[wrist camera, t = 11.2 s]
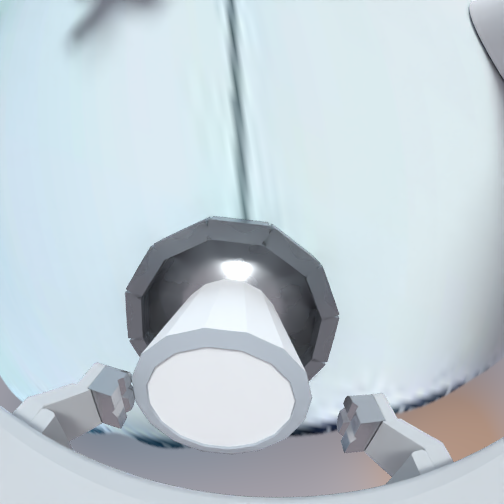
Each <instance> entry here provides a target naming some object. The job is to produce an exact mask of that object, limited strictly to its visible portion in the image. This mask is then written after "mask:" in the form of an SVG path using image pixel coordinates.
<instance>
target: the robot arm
mask: <svg viewBox="0 0 504 504" xmlns="http://www.w3.org/2000/svg"><path fill="white" fill-rule="evenodd" d="M469 10H470V15H471V18H472V21H473V24H474V26H475V28H476V31H477V33H478V35H479V37H480V39H481V41H482V43H483V45H484V46H485V48H486V50H487V52H488V54H489V56H490V57H491V59H492V61H493V63H494V64H495V66H496V68H497V69H498V71H499V73H500V74H501V76H502V77H503V79H504V0H473V1H471V3H470V5H469ZM131 382H132V374H131V373H130V372H127V371H124V370H120V369H117V368H114V367H111V366H107V365H104V364H101V363H98V362H97V363H94V364H93V365H92V367H91V368H90V369H89V370H88V371H87V372H86V373H85V375H84V376H83V377H82V378H81V379H80V380H79V381H78V383H77V384H75V383H72V384H69V385H66V386H63V387H59V388H56V389H53V390H50V391H47V392H43V393H40V394H36V395H33V396H30V397H27V398H26V399H25V400H24V401H23V403H22V404H21V405H20V406H19V407H18V408H17V409H16V410H15V411H14V412H13V413H12V414H11V413H10V412H8V411H7V410H6V409H4V408H3V407H2V406H0V504H504V437H503V438H501V439H499V440H498V441H496V442H494V443H492V444H491V445H489V446H487V447H485V448H483V449H481V450H479V451H477V452H475V453H473V454H471V455H469V456H467V457H465V458H463V459H460V460H458V461H456V462H453V460H452V458H451V456H450V455H449V453H448V451H447V449H446V448H445V446H444V444H443V443H442V442H441V441H439V440H437V439H435V438H433V437H431V436H430V435H428V434H426V433H424V432H423V431H421V430H419V429H417V428H416V427H414V426H412V425H411V424H409V423H407V422H406V421H404V420H402V419H397V417H396V415H395V413H394V411H393V409H392V408H391V406H390V404H389V402H388V400H387V398H386V397H385V395H384V394H383V393H378V394H371V395H356V396H347V397H346V398H345V400H344V403H343V404H344V407H345V408H343V409H342V410H341V411H340V412H339V415H338V419H337V429H338V432H339V433H340V434H341V435H342V436H343V438H342V440H341V443H342V446H343V450H344V453H350V452H360V451H364V452H365V453H366V454H367V455H368V456H369V457H370V458H371V459H373V461H374V462H376V463H377V464H378V465H379V466H380V467H381V468H382V469H383V470H385V471H386V472H387V473H388V474H389V475H390V476H391V477H392V478H391V479H390V480H389V481H388V482H387V483H386V485H383V486H379V487H374V488H369V489H364V490H358V491H352V492H346V493H338V494H330V495H320V496H307V497H249V496H236V495H226V494H217V493H211V492H203V491H198V490H192V489H187V488H182V487H177V486H173V485H169V484H164V483H160V482H157V481H153V480H149V479H146V478H142V477H139V476H136V475H133V474H130V473H127V472H124V471H121V470H118V469H116V468H113V467H110V466H108V465H105V464H102V463H100V462H98V461H95V460H93V459H91V458H88V457H86V456H84V455H82V454H80V453H77V452H75V451H74V449H73V448H72V446H71V444H70V441H71V440H73V439H75V438H77V437H78V436H81V435H82V434H84V433H86V432H88V431H90V430H91V429H93V428H95V427H97V426H98V425H100V424H102V423H105V424H108V425H111V426H114V427H117V428H122V426H123V424H124V422H125V420H126V418H127V415H126V412H128V411H130V410H131V409H132V407H133V405H134V401H135V396H134V390H133V386H132V385H131Z"/></svg>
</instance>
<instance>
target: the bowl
mask: <svg viewBox="0 0 504 504" xmlns="http://www.w3.org/2000/svg"><path fill="white" fill-rule="evenodd" d="M222 279H228V280H237V281H244V282H246V283H248V284H250V285H252V286H254V287H256V288H258V289H260V290H261V291H262V292H263V293H264V294H265V296H266V297H267V298H268V299H269V300H270V301H271V303H272V304H273V306H274V308H275V310H276V312H277V314H278V316H279V318H280V320H281V322H282V324H283V326H284V328H285V330H286V332H287V334H288V336H289V338H290V340H291V342H292V344H293V346H294V348H295V351H296V353H297V355H298V357H299V359H300V361H301V363H302V365H303V367H304V369H305V371H306V373H307V377H308V381H309V380H310V379H311V378H312V377H313V376H314V375H315V374H316V373H317V372H319V371H320V370H321V369H322V368H323V367H324V366H325V362H327V361H328V357H329V354H330V350H331V347H332V343H333V340H334V336H335V332H336V329H337V325H338V321H339V317H338V315H339V312H338V309H337V306H336V303H335V300H334V297H333V294H332V292H331V289H330V286H329V283H328V280H327V277H326V274H325V272H324V269H323V266H322V265H321V264H320V262H319V261H318V260H317V259H316V258H315V257H314V256H313V255H312V254H310V253H309V252H308V251H307V250H305V249H304V248H303V247H301V246H300V245H299V244H298V243H296V242H295V241H294V240H292V239H291V238H290V237H288V236H287V235H286V234H284V233H283V232H282V231H281V230H279V229H278V228H277V227H275V226H274V225H273V224H271V225H269V223H268V222H261V221H253V220H244V219H235V218H226V217H217V216H213V217H212V218H211V217H209V218H206V219H204V220H202V221H200V222H198V223H196V224H193V225H191V226H189V227H187V228H185V229H183V230H181V231H178V232H176V233H174V234H172V235H170V236H168V237H166V238H164V239H162V240H160V241H158V242H156V243H154V245H153V246H151V247H150V249H149V250H148V252H147V254H146V255H145V257H144V259H143V260H142V262H141V264H140V265H139V267H138V269H137V270H136V272H135V274H134V276H133V277H132V279H131V281H130V283H129V285H128V286H127V288H126V289H127V291H126V292H125V297H126V315H127V329H128V338H131V339H130V343H131V344H132V346H133V347H134V349H135V350H136V352H137V354H138V355H139V357H140V356H141V354H142V353H143V351H144V350H145V349H146V348H147V347H148V345H149V344H150V343H151V342H152V341H153V339H154V338H155V337H156V336H157V335H158V333H159V332H160V331H161V330H162V329H163V327H164V326H165V325H166V324H167V323H168V322H169V320H170V319H171V318H172V317H173V316H174V315H175V313H176V312H177V311H178V310H179V309H180V307H181V306H182V305H183V304H184V303H185V302H186V300H187V299H188V298H189V297H190V296H191V295H192V294H193V293H194V292H196V291H197V290H198V289H200V288H201V287H202V286H203V285H205V284H207V283H211V282H215V281H219V280H222Z"/></svg>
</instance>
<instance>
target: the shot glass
mask: <svg viewBox="0 0 504 504" xmlns="http://www.w3.org/2000/svg"><path fill="white" fill-rule="evenodd" d="M132 384H133V390H134V396H135V401H136V403H137V405H138V406H139V408H140V409H141V411H142V412H143V414H144V415H145V416H146V418H147V419H148V421H149V422H150V423H151V424H152V425H153V426H154V427H156V428H157V429H158V430H160V431H161V432H162V433H164V434H165V435H167V436H168V437H169V438H171V439H172V440H174V441H176V442H179V443H181V444H184V445H186V446H189V447H192V448H194V449H197V450H201V451H206V452H214V453H223V454H237V453H245V452H252V451H258V450H262V449H264V448H266V447H268V446H271V445H273V444H275V443H278V442H280V441H282V440H284V439H286V438H287V437H288V436H289V435H290V434H291V433H292V432H293V431H294V430H295V429H296V428H297V427H298V426H300V425H301V424H302V423H303V422H304V420H305V417H306V415H307V412H308V409H309V406H310V403H311V400H312V395H311V390H310V386H309V382H308V377H307V373H306V371H305V369H304V367H303V365H302V363H301V361H300V359H299V357H298V355H297V353H296V351H295V348H294V346H293V344H292V342H291V340H290V338H289V336H288V334H287V332H286V330H285V328H284V326H283V324H282V322H281V320H280V318H279V316H278V314H277V312H276V310H275V308H274V306H273V304H272V303H271V301H270V300H269V299H268V298H267V297H266V296H265V294H264V293H263V292H262V291H261V290H260V289H258V288H256V287H254V286H252V285H250V284H248V283H246V282H244V281H237V280H228V279H222V280H219V281H215V282H211V283H207V284H205V285H203V286H202V287H201V288H200V289H198V290H197V291H196V292H194V293H193V294H192V295H191V296H190V297H189V298H188V299H187V300H186V302H185V303H184V304H183V305H182V306H181V307H180V309H179V310H178V311H177V312H176V313H175V315H174V316H173V317H172V318H171V319H170V320H169V322H168V323H167V324H166V325H165V326H164V327H163V329H162V330H161V331H160V332H159V333H158V335H157V336H156V337H155V338H154V339H153V341H152V342H151V343H150V344H149V345H148V347H147V348H146V349H145V350H144V351H143V353H142V354H141V356H140V358H139V361H138V363H137V365H136V368H135V370H134V373H133V375H132Z"/></svg>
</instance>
